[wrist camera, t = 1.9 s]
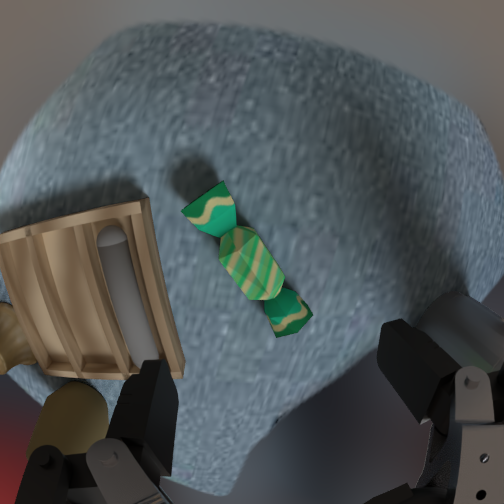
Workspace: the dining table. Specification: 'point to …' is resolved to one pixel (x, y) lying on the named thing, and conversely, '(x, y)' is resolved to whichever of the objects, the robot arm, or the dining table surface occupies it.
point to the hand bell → (13, 341)
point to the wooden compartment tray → (85, 292)
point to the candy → (248, 260)
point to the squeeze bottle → (71, 420)
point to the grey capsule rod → (125, 293)
